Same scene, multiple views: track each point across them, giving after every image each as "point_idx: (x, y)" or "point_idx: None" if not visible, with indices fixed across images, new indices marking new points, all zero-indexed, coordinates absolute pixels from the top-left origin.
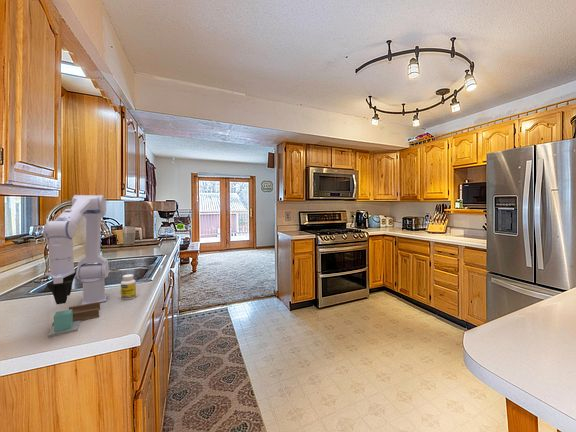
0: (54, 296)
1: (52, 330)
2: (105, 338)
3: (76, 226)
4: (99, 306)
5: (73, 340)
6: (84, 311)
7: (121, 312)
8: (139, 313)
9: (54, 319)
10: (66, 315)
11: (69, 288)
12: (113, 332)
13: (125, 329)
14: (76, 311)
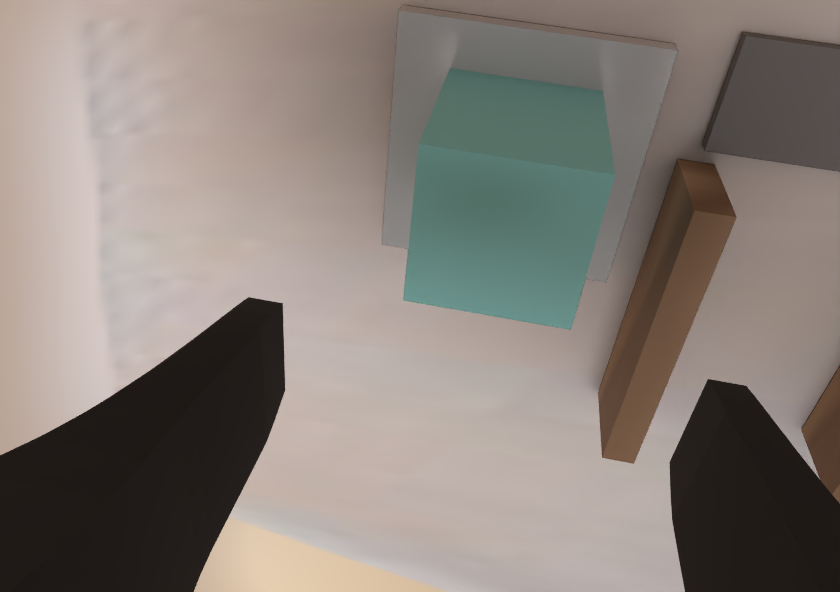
0: (130, 388)
1: (518, 49)
2: (117, 356)
3: None
4: (815, 459)
5: (191, 194)
6: (641, 367)
7: (562, 512)
8: (437, 567)
9: (428, 133)
10: (408, 257)
11: (694, 585)
12: None
13: None
14: None
